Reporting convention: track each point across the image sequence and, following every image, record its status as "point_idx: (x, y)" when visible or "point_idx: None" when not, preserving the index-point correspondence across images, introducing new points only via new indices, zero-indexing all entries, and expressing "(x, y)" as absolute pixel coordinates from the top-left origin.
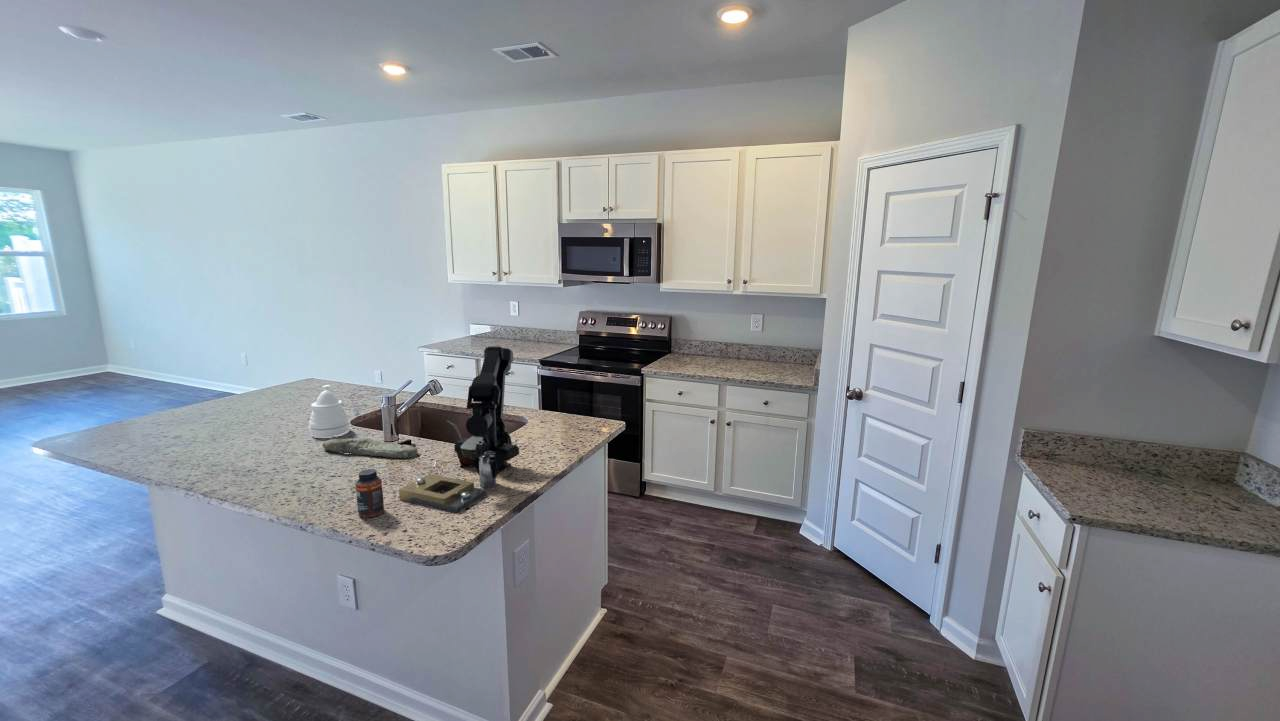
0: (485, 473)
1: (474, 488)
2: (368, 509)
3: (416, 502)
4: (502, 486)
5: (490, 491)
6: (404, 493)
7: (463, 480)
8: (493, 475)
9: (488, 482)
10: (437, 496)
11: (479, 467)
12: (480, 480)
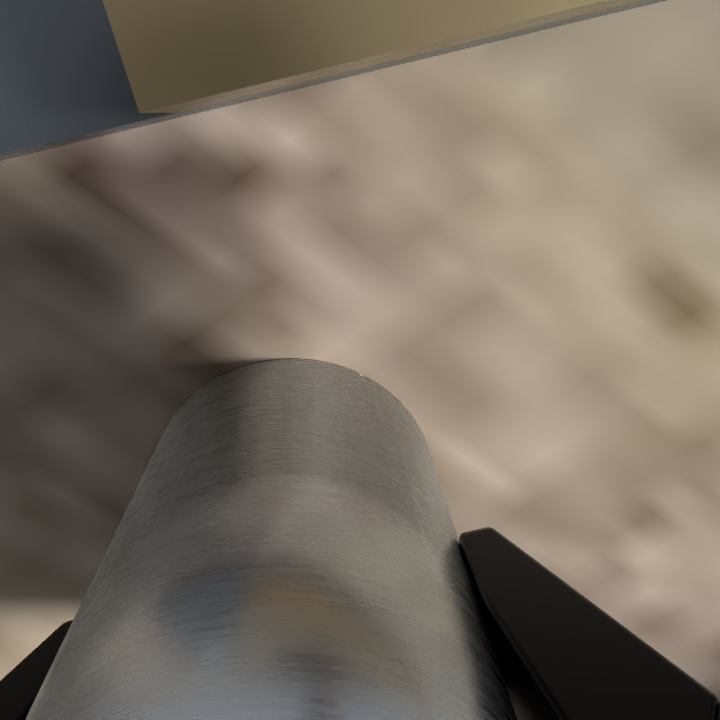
0: (115, 598)
1: (108, 78)
2: None
3: None
4: (52, 586)
5: (7, 349)
6: None
7: (544, 7)
8: (23, 674)
9: (142, 479)
10: None
11: (378, 697)
12: (324, 422)
